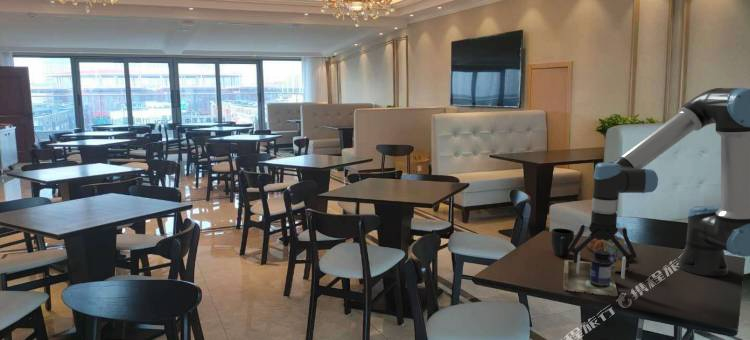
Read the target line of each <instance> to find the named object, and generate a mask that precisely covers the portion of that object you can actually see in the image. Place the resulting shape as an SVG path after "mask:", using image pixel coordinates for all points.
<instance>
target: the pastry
mask: <svg viewBox="0 0 750 340" xmlns="http://www.w3.org/2000/svg"><path fill="white" fill-rule="evenodd" d="M614 236H615V237H617V238H620V237H618V236H617V235H614ZM585 247H586V249H587V250H589V251H590V252H592V253H593V254H594V251H595V250H604V251H605V249H604V245H603V242H602V240H597V239H596V238H595V239H593V240H592V241H591V242H590V243H588V244H587V245H586V246H585ZM627 252H628V253H631V252H630V250H628V249H627ZM632 259H633V258H631V259H630V263H631V262H632Z"/></svg>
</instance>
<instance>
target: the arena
mask: <svg viewBox="0 0 750 340" xmlns="http://www.w3.org/2000/svg"><path fill="white" fill-rule="evenodd" d="M563 262H564V263H563V264H564V265H563V281H562V282H563V283H562V284H563V286H562V287H563V289H562V290H563V291H567V290H568V291H569V292H575V291H576V292H577V293H584V292H586V293H585V294H592V293H593V294H594V295H600V296H608V295H609V296H608V297H616V296H618V295H619V294H618V291H617V286H616V281H615V278H616V277H615V276H616V271H615V265H611V276H610V285H609V286H608V287H596V286H593V285H591V284H590V271H591V261H589V262H588V261H583V260H582V261H581V260H580V266H579V274H577V273H576V269H577V263H574V261H573V259H571V260H569V259H564V261H563Z"/></svg>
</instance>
